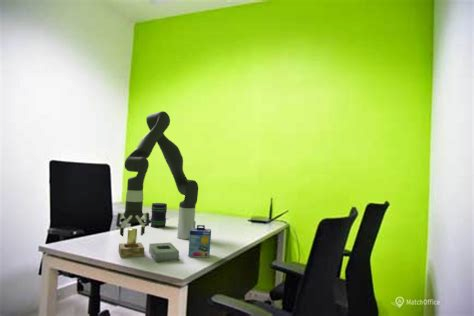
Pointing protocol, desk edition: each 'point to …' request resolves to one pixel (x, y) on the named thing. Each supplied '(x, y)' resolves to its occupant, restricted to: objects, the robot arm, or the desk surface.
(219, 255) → the desk surface
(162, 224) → the storage jar
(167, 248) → the block with square hole
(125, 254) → the socket block
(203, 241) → the ink cartridge box
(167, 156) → the robot arm
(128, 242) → the axle
